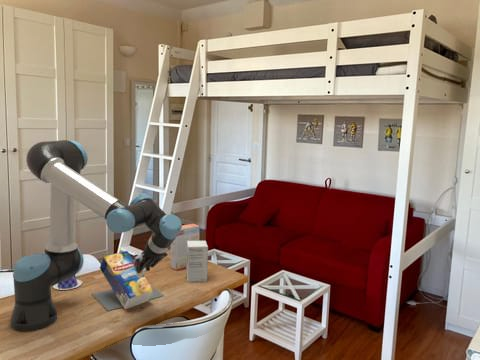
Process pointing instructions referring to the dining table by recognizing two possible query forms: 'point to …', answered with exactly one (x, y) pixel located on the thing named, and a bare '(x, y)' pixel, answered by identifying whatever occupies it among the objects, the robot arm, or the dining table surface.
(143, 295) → the beverage box
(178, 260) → the cracker box
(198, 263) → the supplement box
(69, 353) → the dining table surface
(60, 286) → the pudding
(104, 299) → the mat
